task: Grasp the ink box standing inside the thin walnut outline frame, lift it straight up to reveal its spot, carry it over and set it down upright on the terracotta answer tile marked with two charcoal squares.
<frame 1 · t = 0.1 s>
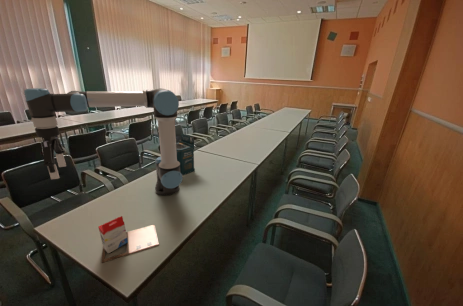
hand: (59, 172, 94), 28 cm above the table, fingers open, 13 cm apart
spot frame: (116, 246, 90), on the table
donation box: (180, 171, 164), on the table
ink box: (115, 245, 90), on the table, touching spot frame
answer tile: (143, 238, 95), on the table
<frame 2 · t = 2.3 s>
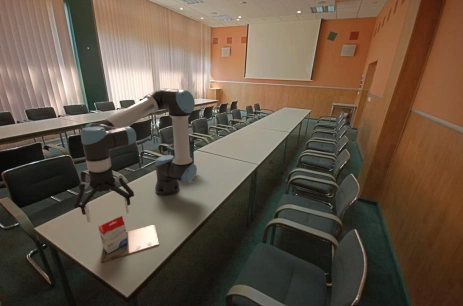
hand: (109, 215, 84), 17 cm above the table, fingers open, 13 cm apart
nothing on the table moved.
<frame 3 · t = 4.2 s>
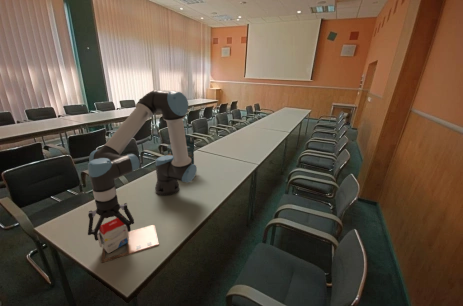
hand: (115, 241, 89), 3 cm above the table, fingers closed on ink box, 9 cm apart
ink box: (115, 245, 90), on the table, touching gripper, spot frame
everything else where it was.
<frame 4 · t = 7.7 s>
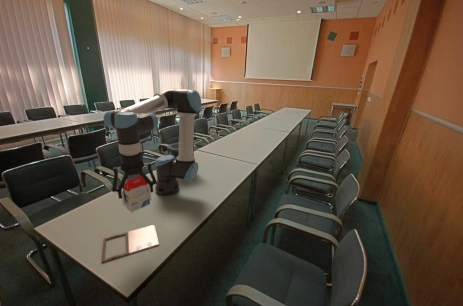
hand: (137, 201, 88), 20 cm above the table, fingers closed on ink box, 9 cm apart
ink box: (138, 206, 89), point 18 cm above the table, touching gripper
everything else where it was.
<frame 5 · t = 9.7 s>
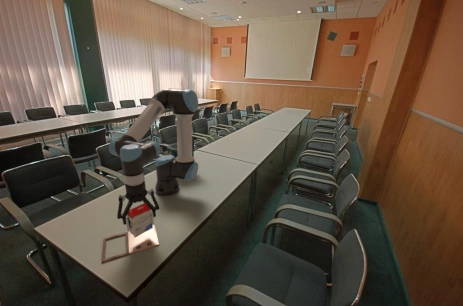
hand: (141, 225, 92), 7 cm above the table, fingers closed on ink box, 9 cm apart
ink box: (141, 230, 93), point 5 cm above the table, touching gripper
everything else where it was.
when the fingers open (5 cm above the table, at t = 11.2 s): ink box drops 2 cm, resting on answer tile.
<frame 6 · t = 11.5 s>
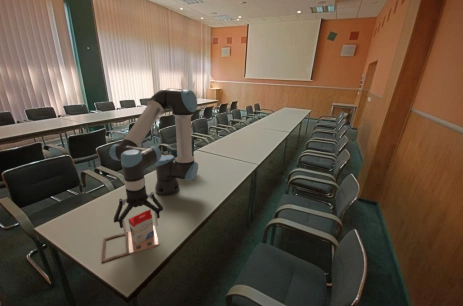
hand: (141, 228, 93), 6 cm above the table, fingers open, 12 cm apart
ink box: (143, 237, 95), resting on answer tile
everything else where it was.
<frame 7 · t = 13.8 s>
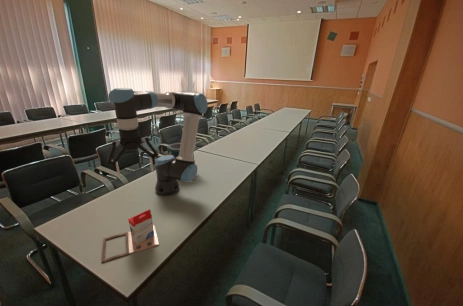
hand: (136, 173, 92), 30 cm above the table, fingers open, 13 cm apart
nothing on the table moved.
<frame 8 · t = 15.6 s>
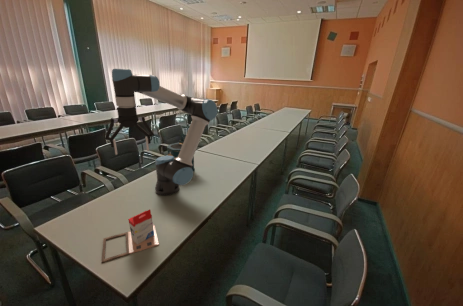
hand: (132, 151, 97), 37 cm above the table, fingers open, 13 cm apart
nothing on the table moved.
at the end: ink box inside the target area on the answer tile (0.1 cm from its centre), point 0.4 cm above the answer tile's base; ink box tilted 0°; the gripper is holding nothing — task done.
